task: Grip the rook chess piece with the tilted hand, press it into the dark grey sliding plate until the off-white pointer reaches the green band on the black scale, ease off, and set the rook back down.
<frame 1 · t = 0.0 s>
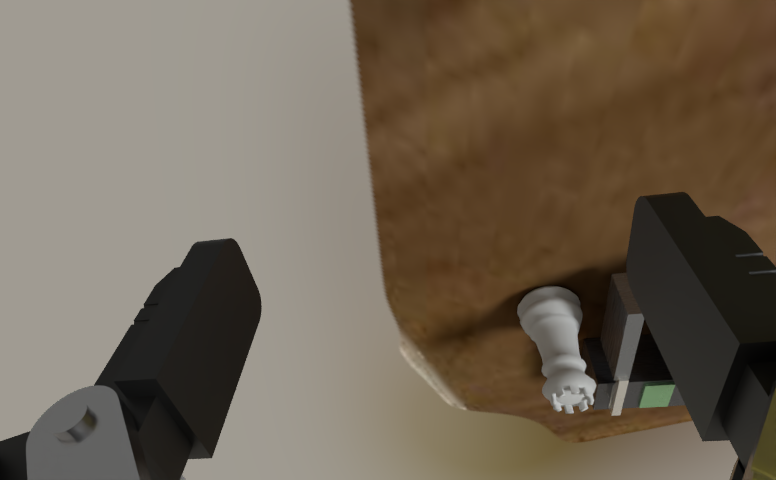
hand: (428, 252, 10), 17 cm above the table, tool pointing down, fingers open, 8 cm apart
gauge frame: (656, 290, 35), on the table
gauge plate: (617, 348, 35), point 3 cm above the table, slide at 0.0 cm
rook chess piece: (546, 301, 37), on the table
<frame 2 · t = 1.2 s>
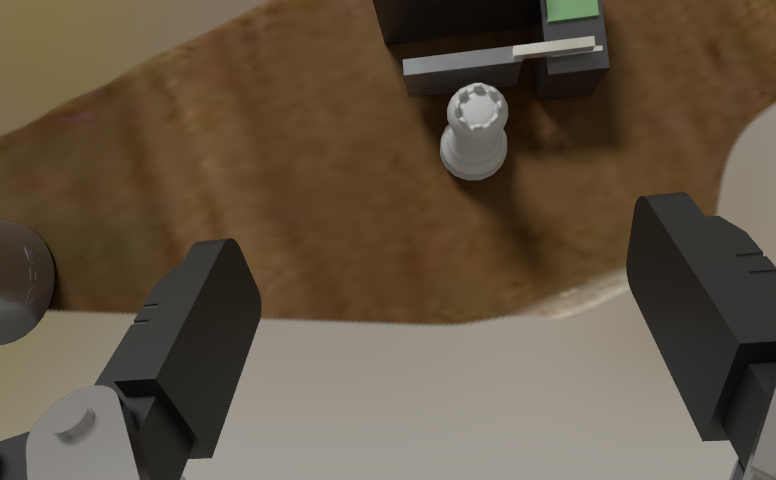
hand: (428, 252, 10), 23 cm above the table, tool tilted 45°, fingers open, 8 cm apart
gauge frame: (457, 46, 35), on the table
gauge plate: (493, 67, 31), point 3 cm above the table, slide at 0.0 cm
rook chess piece: (472, 151, 34), on the table
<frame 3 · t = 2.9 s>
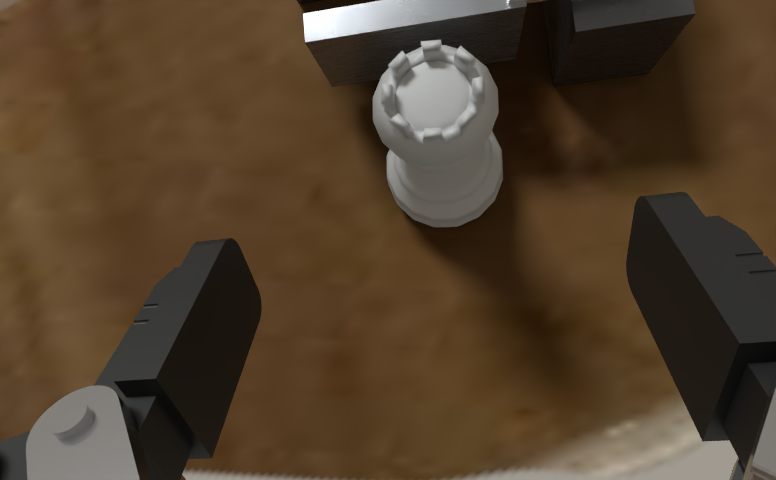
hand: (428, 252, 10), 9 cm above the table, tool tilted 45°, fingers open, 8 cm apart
gauge frame: (415, 1, 21), on the table
gauge plate: (474, 25, 17), point 3 cm above the table, slide at 0.0 cm
rook chess piece: (445, 175, 20), on the table
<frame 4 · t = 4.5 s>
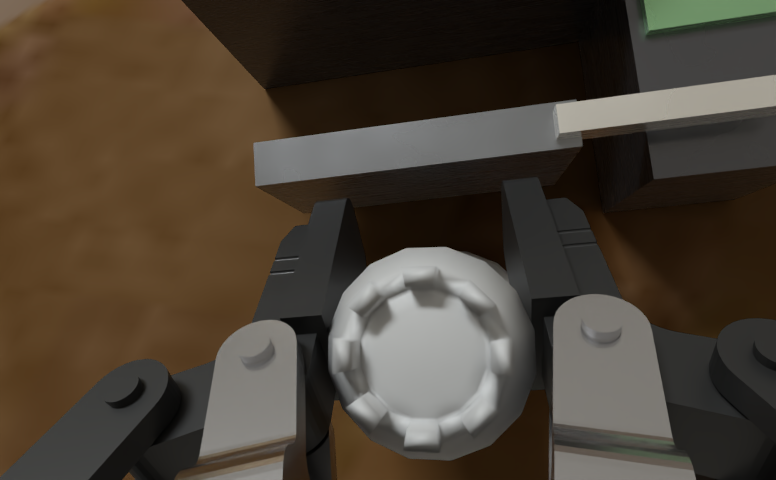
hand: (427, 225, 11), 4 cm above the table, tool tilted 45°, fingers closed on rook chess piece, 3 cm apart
gauge frame: (416, 90, 16), on the table
gauge plate: (500, 153, 12), point 3 cm above the table, slide at 0.0 cm
rook chess piece: (456, 328, 15), on the table, touching gripper
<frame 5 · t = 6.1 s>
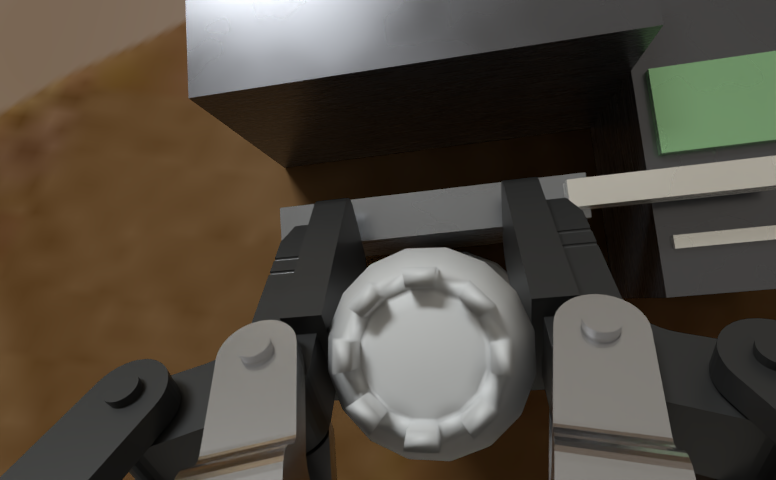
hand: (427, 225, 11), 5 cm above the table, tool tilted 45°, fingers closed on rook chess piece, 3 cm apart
gauge frame: (433, 172, 16), on the table
gauge plate: (512, 213, 13), point 3 cm above the table, slide at 1.2 cm, touching gripper
rook chess piece: (456, 328, 15), point 1 cm above the table, touching gripper
when the fingers open (5 cm above the table, at t = 8.9 s): rook chess piece stays where it is, on the table.
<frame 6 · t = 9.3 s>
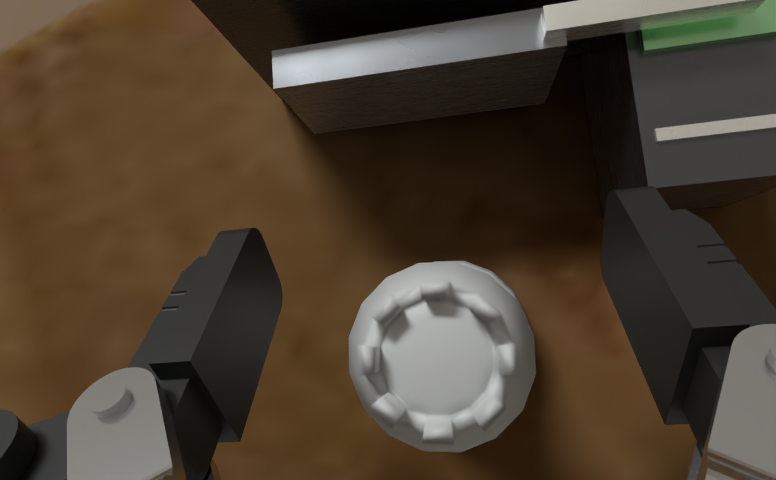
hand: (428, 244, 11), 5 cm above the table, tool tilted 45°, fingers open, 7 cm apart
gauge frame: (425, 100, 17), on the table
gauge plate: (494, 64, 13), point 3 cm above the table, slide at 2.7 cm
rook chess piece: (453, 332, 16), on the table
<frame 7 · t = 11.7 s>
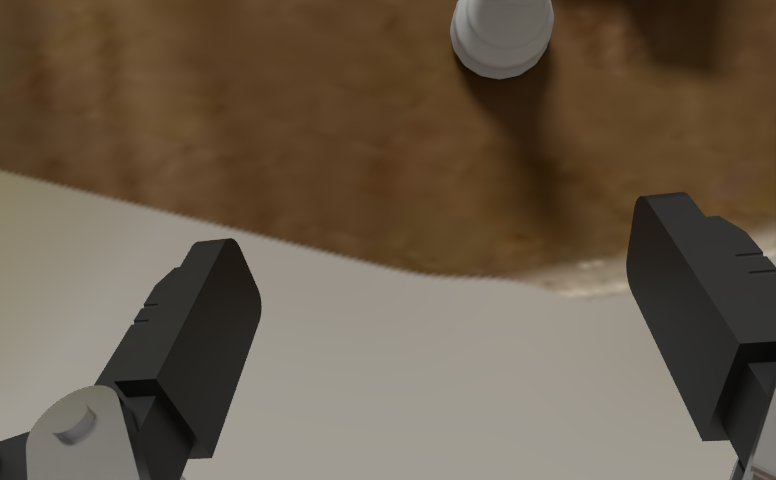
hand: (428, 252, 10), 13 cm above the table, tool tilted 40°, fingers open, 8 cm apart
rook chess piece: (497, 37, 23), on the table
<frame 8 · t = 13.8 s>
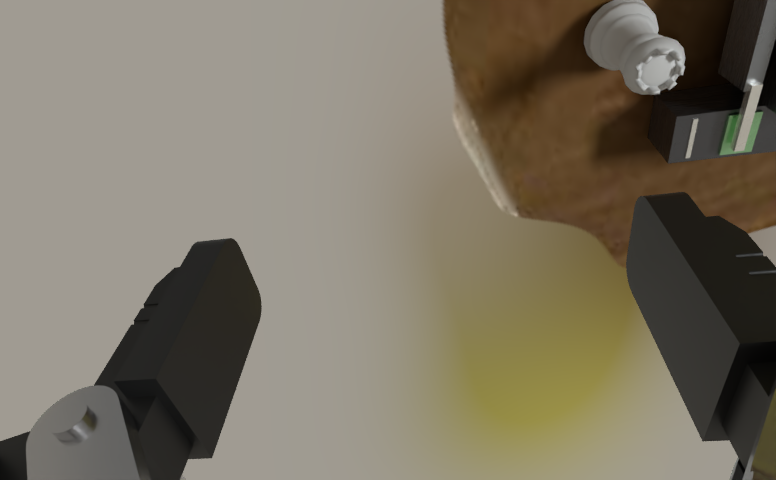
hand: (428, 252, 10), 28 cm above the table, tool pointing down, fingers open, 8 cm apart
gauge frame: (739, 10, 33), on the table
gauge plate: (746, 58, 31), point 3 cm above the table, slide at 2.7 cm
rook chess piece: (615, 30, 34), on the table
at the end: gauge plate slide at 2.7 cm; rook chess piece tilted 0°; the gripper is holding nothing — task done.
